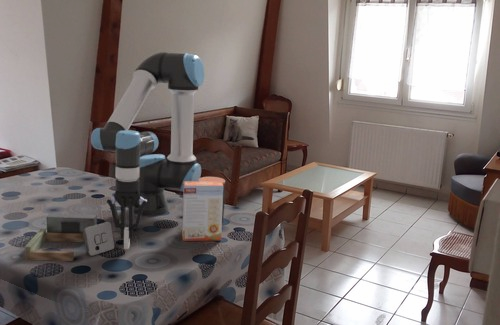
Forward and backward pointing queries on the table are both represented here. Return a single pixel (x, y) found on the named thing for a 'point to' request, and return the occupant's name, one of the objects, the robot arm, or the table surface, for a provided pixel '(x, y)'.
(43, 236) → the bay
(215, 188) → the cracker box
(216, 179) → the coffee jar
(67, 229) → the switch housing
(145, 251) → the table surface
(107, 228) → the electrical switch
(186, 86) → the robot arm
